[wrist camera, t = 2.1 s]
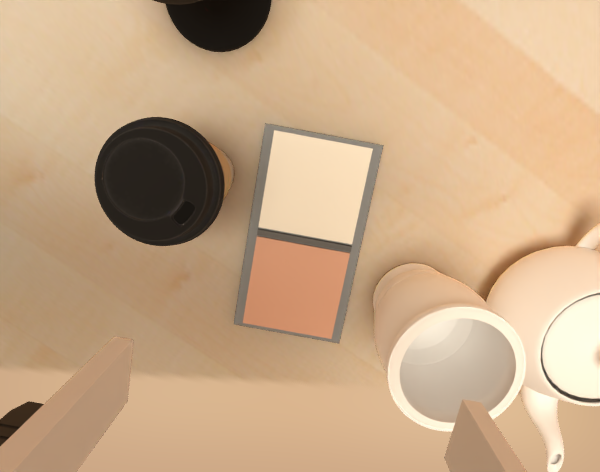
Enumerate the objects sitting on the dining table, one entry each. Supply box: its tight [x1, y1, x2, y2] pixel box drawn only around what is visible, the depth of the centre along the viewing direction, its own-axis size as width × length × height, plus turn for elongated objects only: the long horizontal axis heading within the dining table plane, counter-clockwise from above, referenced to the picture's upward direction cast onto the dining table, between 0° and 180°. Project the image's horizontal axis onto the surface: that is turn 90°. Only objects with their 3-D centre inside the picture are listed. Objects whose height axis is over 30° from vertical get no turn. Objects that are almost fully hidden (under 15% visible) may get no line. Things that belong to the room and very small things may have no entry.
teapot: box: [486, 223, 600, 472], centre depth 39 cm, size 25×16×12 cm, turn 168°
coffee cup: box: [95, 117, 234, 246], centre depth 35 cm, size 9×9×15 cm
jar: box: [373, 263, 526, 431], centre depth 38 cm, size 11×10×15 cm
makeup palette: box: [234, 123, 383, 343], centre depth 43 cm, size 12×22×2 cm, turn 170°
